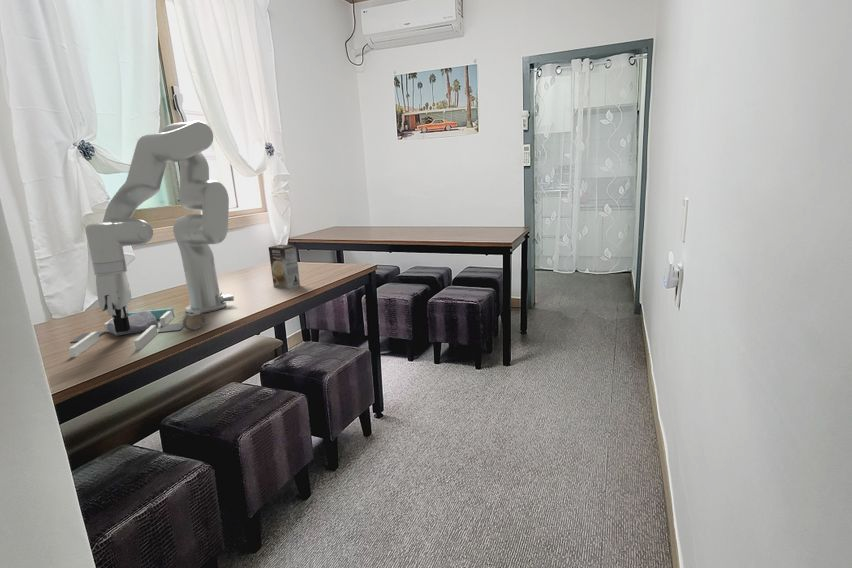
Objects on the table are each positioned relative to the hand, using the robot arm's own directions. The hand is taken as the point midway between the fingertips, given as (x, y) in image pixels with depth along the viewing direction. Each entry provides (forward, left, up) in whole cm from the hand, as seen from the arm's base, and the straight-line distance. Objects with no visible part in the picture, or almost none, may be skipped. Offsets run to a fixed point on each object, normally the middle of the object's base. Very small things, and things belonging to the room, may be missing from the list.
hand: (123, 330), depth 133 cm
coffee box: (-42, -45, -2) cm, 61 cm away
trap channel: (0, -2, -2) cm, 3 cm away
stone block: (0, -7, -2) cm, 7 cm away
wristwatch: (-19, -1, -2) cm, 19 cm away
